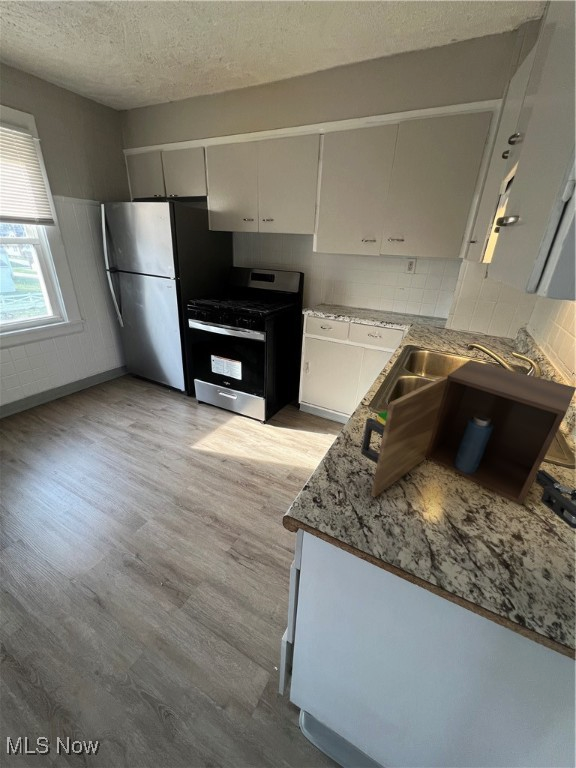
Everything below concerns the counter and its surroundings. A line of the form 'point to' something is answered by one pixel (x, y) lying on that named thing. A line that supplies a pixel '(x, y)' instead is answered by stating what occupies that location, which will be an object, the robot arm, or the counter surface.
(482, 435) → the water bottle
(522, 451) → the cupboard
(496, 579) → the counter surface
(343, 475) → the counter surface
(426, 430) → the cupboard door
